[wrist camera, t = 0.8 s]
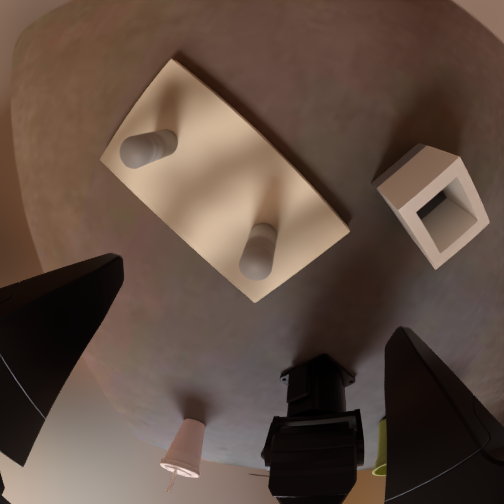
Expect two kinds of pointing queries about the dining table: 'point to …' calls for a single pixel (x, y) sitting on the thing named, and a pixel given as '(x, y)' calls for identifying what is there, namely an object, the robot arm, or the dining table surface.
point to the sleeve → (433, 201)
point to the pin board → (220, 184)
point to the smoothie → (185, 451)
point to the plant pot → (381, 451)
